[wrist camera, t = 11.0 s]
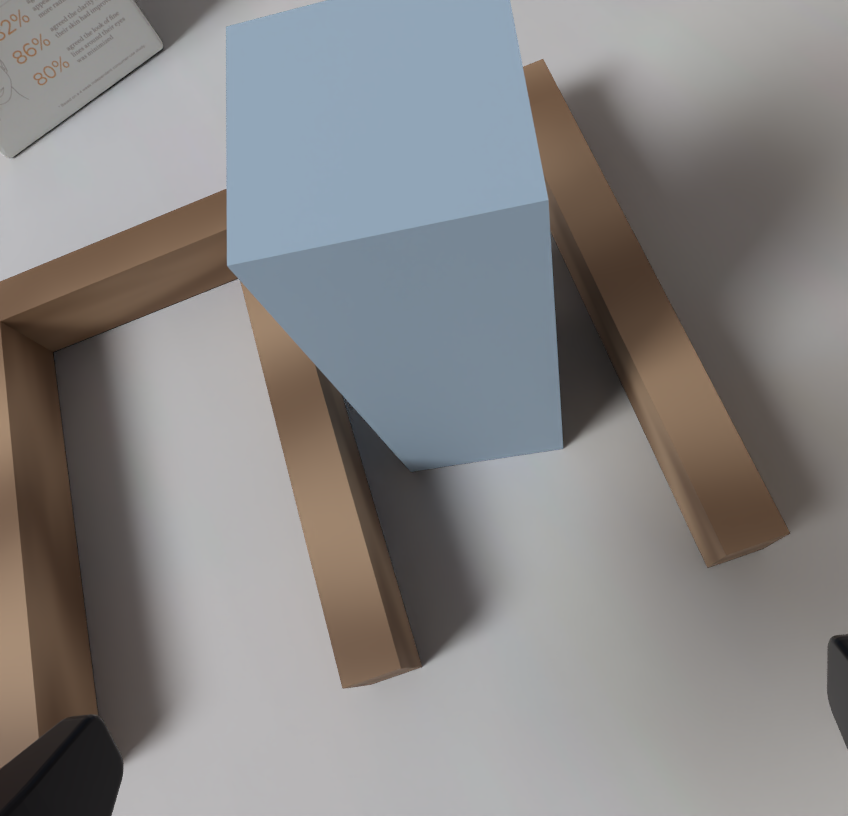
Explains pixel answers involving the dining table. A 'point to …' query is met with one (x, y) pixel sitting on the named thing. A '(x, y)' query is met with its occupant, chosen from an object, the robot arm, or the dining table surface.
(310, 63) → the pale blue tall block
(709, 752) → the dining table surface
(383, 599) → the comb rack
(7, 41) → the small box
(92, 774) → the robot arm
